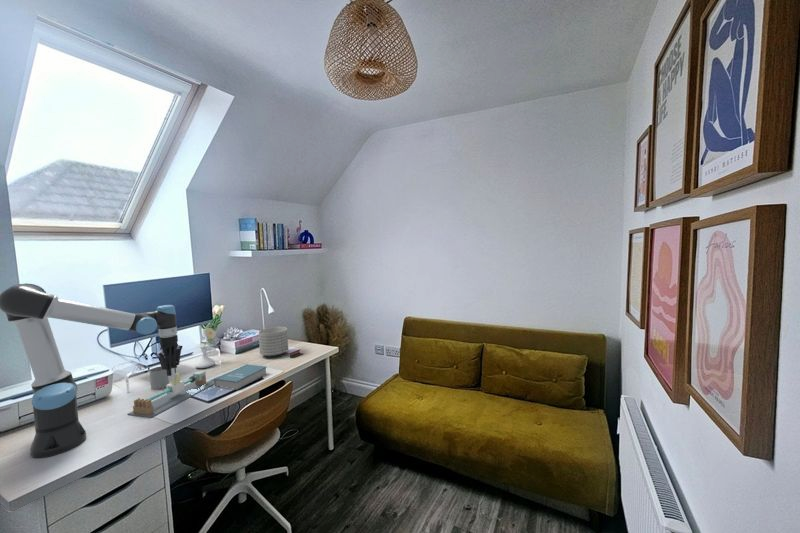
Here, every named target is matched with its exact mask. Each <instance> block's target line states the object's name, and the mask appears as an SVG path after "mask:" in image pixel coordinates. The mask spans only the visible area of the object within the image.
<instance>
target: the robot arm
mask: <svg viewBox="0 0 800 533" xmlns="http://www.w3.org/2000/svg"><path fill="white" fill-rule="evenodd" d="M0 310H1V311H2V312H3V313H5V315H6V319H7V322H8V323H12V324H14V325H15V326H16V329H17V331H18V334H19V337H20V339H21V342H22V345H23V348H24V349H23V350H24V352H25V355H26V357H27V359H28V362H29V366H30V368H31V371H32V374H33V377H34V381H32V383H31V385H30V386H31V388H32V392H33V395H32V398H31V405H32V410H33V419H34V428H35V435H34V437H33V440H32V442H31V443H32V444H31V447H30V450H29V451H30V457H32V458H35V459H39V458H40V459H41V458H48V457H52V456H56V455H58V454H62V453H64V452H65V453H66V452H67V451H69V450H72V449H74V448H75V447H77V446H79V445H81V444H82V443H83V442H85V441H86V439H87V432H86V430H85V428H84V427H83V425H82V423H81V422H80V420H79V410H78V397H77V396H78V384H77V383H76V381H74V380H75V379H74V377H73V374H72V372H71V371H70V370H66V369H65V366H64V363H63V360H62V357H61V354H60V352H59V349H58V346H57V343H56V339H55V337H54V334H53V331H52V328H51V324H50V322H49V321H50V320H49V318H51V319H57V320H62V321H69V322H75V323H81V324H87V325H93V326H98V327H99V326H100V327H105V328H109V329H110V328H112V329H118V330H124V331H130V332H133V333H135V332H136V333H139V334H140V335H149V334H153V332H155V331H156V330H157V328H158V336H159V340H158V341H159V345H160V348H159V351H158V352H156V353H155V355H156V357H157V358H158V361H159V364H160V367H162V369H163V370H167V376H168V380H169V383H170V382H174V381H176V380H175V373H177V370H176V369H177V368H178V366H179V365H180V361H181V354H182V349H183V345H179V343H178V342H179V339H178V326H177V313H176V307H175V306H174V305H173V304H163V305H159V306H157V307H156V310H154V311H153V310H152V311H145V312H140V313H139V312H137V313H133V312H128V311H123V310H117V309H111V308H107V307H102V306H97V305H93V304H88V303H87V304H86V303H83V302H78V301H77V302H76V301H72V300H67V299H61V298H58V296H57V295H56V294H50V293H47V291H46V290H45V289H44V288H43V287H41V286H40V285H37V284H33V283H28V282H26V283H19V284H14V285H12V286H10V287H8V288H6V289H5V290H3V291H2V292H1V293H0Z"/></svg>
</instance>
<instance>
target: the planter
mask: <svg viewBox="0 0 800 533" xmlns="http://www.w3.org/2000/svg"><path fill="white" fill-rule="evenodd" d="M288 332H289V331H288V328H287V327H286V326H272V327H266V328H263V329H260V330H258V344H259V354H260V355H262V356H265V357H269V358H274V357H279V356H281V355H282V354H284V353H286V352H288V351H289V339H288V338H289V336H288V334H289V333H288Z"/></svg>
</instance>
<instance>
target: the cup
mask: <svg viewBox="0 0 800 533" xmlns="http://www.w3.org/2000/svg"><path fill="white" fill-rule="evenodd" d="M149 379H150V389H151V390H161V389H164V388H166V385H168V384H170V382H169V380H168V376H167V370H163V369H162V367H161V366H156V367H154V368H151V369H150V370H149Z"/></svg>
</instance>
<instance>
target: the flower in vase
mask: <svg viewBox="0 0 800 533" xmlns="http://www.w3.org/2000/svg"><path fill="white" fill-rule="evenodd" d="M204 335H205V337H206V340H205V341H200V344H201V345H200V346H199V348H200V349H201V352H202V357H201V358H200V359H199V360H198V361H196V363H195V368H197V369H205V368H209V367H213V366H214V365H215V363H216V360H214V359H212V358H211V357H209V356H208V354H207V353H208V352H207V351H208V347H209V344H207V342H208V343H212V342H213V339H214V338H215V337H216V336H217V335H216V331H215V330H214V329H213V328H212V327H209V328H208V327H207V328H206V329H205V330H204Z"/></svg>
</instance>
